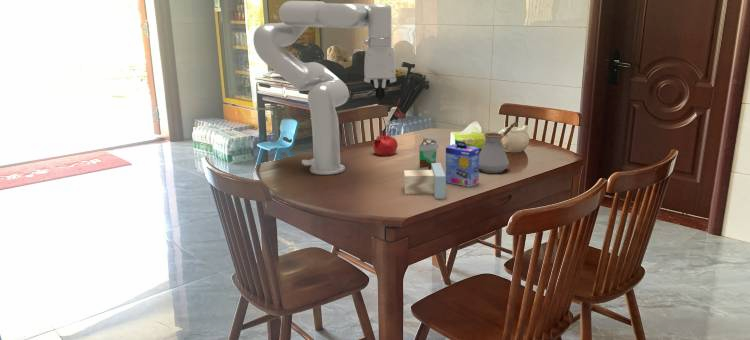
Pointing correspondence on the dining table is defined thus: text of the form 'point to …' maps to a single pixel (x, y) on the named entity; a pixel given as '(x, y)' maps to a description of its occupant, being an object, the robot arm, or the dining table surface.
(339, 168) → the robot arm
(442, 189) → the board
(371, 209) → the dining table surface
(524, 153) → the dining table surface
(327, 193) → the dining table surface
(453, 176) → the ink cartridge box
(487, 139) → the coffee pot
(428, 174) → the block
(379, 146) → the pomegranate
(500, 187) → the dining table surface
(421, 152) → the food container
